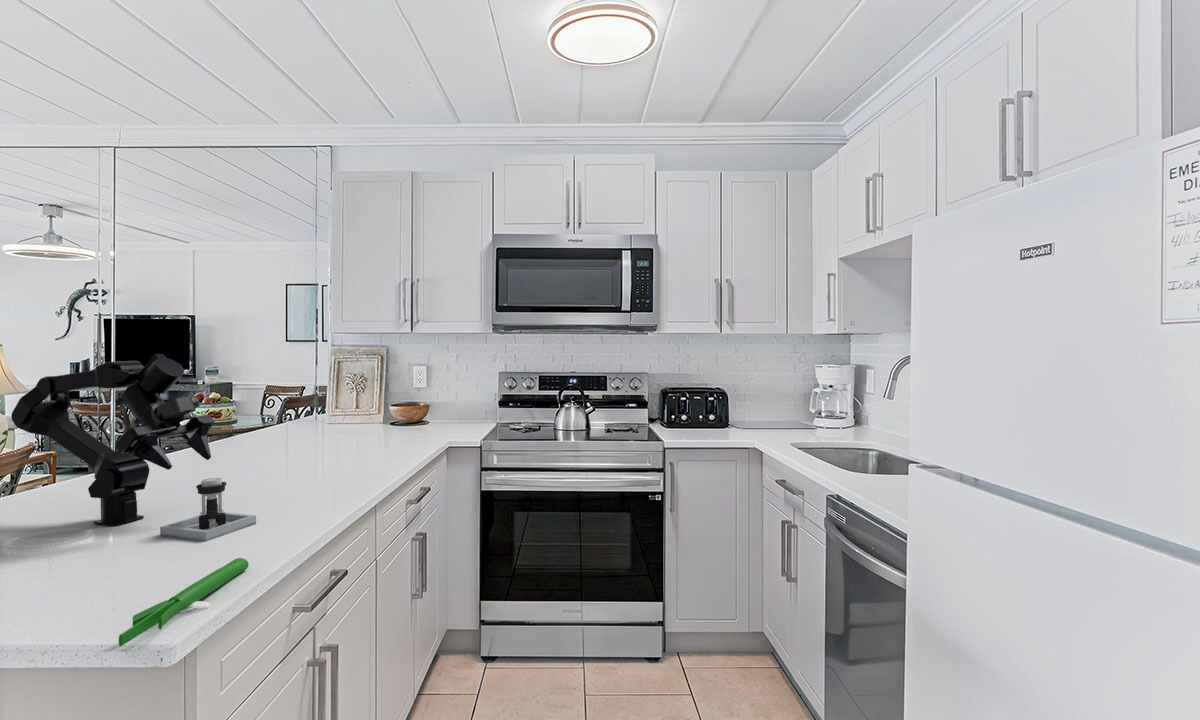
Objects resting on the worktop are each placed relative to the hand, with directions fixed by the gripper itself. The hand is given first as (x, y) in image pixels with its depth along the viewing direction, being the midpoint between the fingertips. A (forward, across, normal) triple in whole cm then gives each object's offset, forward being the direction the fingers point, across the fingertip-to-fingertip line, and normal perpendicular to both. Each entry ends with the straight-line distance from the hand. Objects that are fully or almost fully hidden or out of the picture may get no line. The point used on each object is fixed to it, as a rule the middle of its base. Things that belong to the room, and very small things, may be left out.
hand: (190, 463), depth 129 cm
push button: (+13, -1, +5) cm, 14 cm away
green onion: (+34, -32, -18) cm, 50 cm away
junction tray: (+14, -1, +5) cm, 15 cm away
